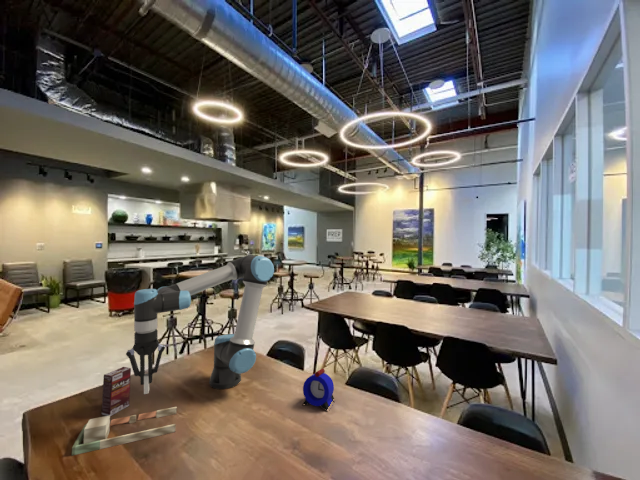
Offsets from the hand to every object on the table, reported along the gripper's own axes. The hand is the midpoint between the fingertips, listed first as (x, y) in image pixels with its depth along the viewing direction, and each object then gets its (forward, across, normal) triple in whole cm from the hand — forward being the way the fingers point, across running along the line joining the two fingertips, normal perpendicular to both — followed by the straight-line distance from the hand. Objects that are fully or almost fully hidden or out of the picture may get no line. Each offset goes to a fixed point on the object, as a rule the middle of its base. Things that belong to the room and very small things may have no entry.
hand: (146, 391), depth 108 cm
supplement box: (+12, +12, -15) cm, 23 cm away
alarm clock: (+15, -67, +12) cm, 70 cm away
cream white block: (+12, +15, +3) cm, 19 cm away
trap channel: (+12, +5, +1) cm, 13 cm away
